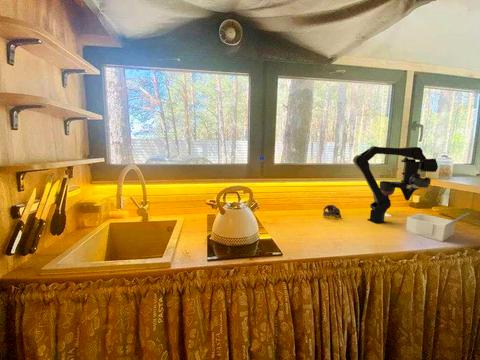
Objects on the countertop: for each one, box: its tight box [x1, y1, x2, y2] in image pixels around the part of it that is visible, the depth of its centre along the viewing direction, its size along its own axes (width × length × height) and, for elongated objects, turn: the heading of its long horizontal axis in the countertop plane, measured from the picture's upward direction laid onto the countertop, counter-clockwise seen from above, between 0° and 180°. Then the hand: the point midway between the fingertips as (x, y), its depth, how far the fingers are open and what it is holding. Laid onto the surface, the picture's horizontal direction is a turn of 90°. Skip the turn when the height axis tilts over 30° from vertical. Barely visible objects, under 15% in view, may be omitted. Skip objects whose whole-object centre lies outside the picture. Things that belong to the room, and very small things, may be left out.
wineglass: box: [379, 180, 396, 217], centre depth 139 cm, size 8×9×20 cm
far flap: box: [445, 211, 470, 226], centre depth 103 cm, size 7×12×1 cm
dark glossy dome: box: [322, 204, 342, 219], centre depth 135 cm, size 12×10×8 cm
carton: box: [405, 212, 456, 243], centre depth 112 cm, size 15×15×7 cm
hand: (407, 200), depth 123 cm, fingers closed
